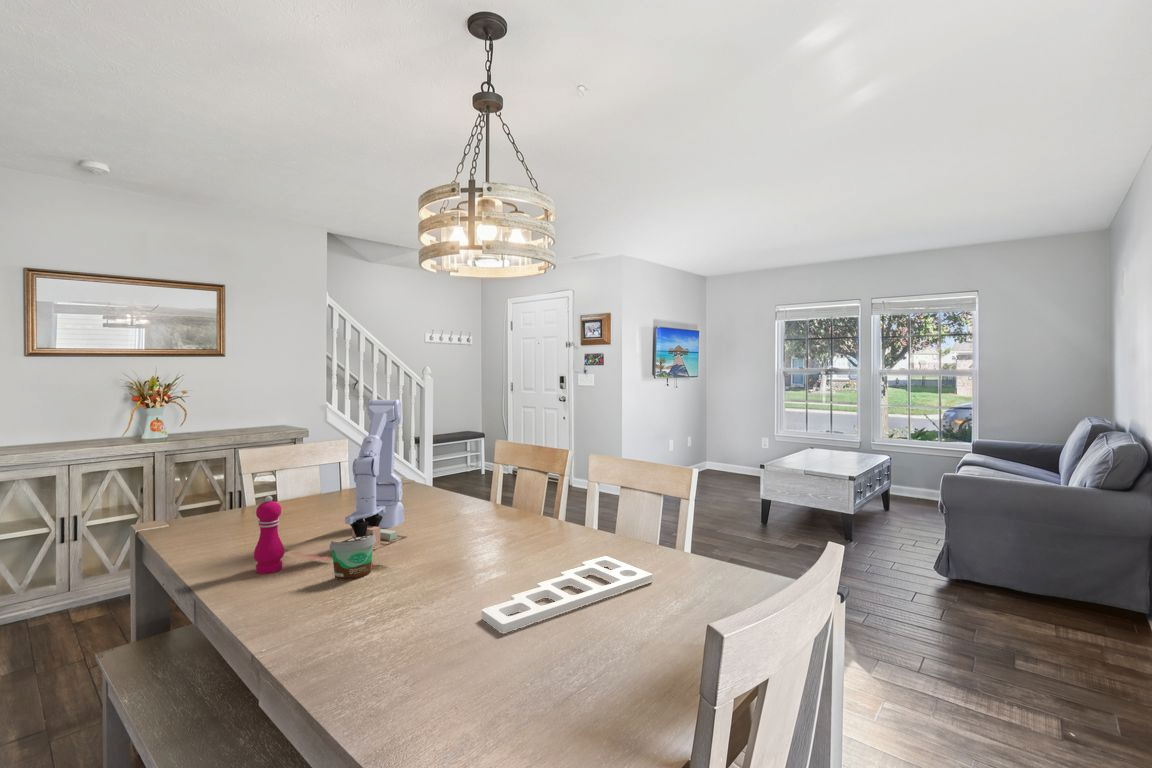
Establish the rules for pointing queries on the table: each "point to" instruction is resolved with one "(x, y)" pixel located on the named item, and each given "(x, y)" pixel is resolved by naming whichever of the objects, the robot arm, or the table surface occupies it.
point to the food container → (353, 557)
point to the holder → (564, 593)
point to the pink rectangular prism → (375, 530)
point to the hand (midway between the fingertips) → (366, 541)
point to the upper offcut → (388, 534)
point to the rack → (389, 541)
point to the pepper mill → (268, 538)
